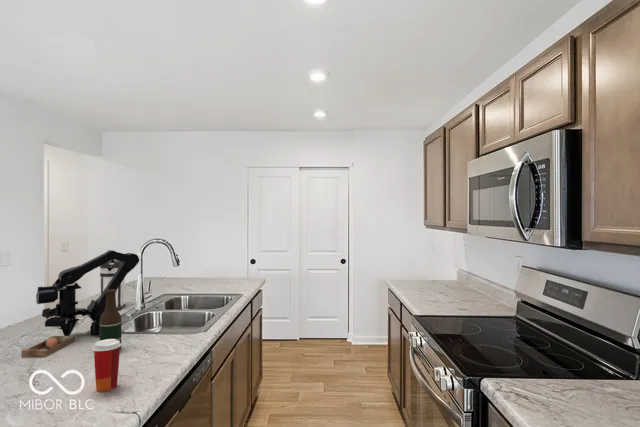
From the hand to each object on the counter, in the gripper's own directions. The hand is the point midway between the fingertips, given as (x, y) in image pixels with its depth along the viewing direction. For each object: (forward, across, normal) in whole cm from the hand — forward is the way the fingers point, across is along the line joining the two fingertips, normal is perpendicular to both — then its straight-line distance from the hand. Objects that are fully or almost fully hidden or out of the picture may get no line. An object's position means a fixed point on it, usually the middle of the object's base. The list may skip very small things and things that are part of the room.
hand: (67, 337), depth 156 cm
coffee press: (+2, -58, -12) cm, 59 cm away
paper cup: (+2, +41, +39) cm, 57 cm away
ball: (-1, +9, 0) cm, 9 cm away
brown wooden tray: (+2, +9, 0) cm, 10 cm away
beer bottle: (+2, +9, +23) cm, 25 cm away
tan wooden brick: (+1, +5, 0) cm, 5 cm away
